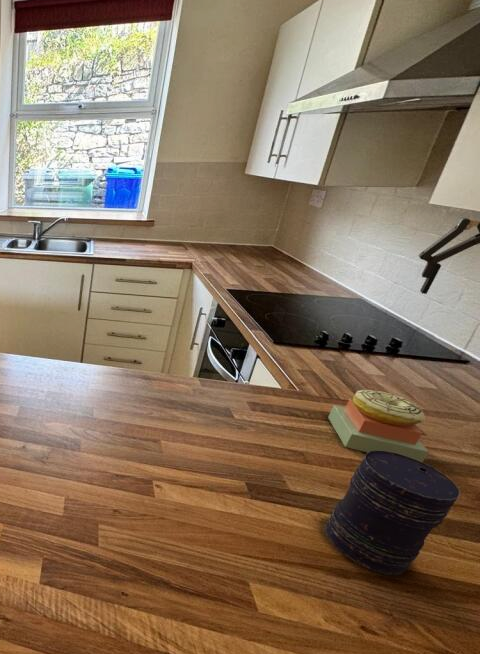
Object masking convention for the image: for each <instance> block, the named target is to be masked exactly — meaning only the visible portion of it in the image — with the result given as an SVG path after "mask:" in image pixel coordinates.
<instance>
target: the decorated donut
mask: <svg viewBox="0 0 480 654" xmlns="http://www.w3.org/2000/svg"><path fill="white" fill-rule="evenodd" d="M352 400H353V402H354V405H355V407H356V408H357V409H358V410H359V411H360V412H362V413H363V414H365V415H366V416H369V417H370V418H372V419H375V420H377V421H379V422H384V423H388V424H392V425H396V426H409V425H413V424H415V425H416V424H422V423H424V422H425V420H426V417H425V415H426V414H425V413H424V411H423V410H422V409H421V408H420V407H419V406H418V405H417V404H416V403H414V402H412V400H409V399H407V398H405V397H403V396H400V395H397V394H393V393H389V392H386V391H382V390H373V389H360V390H357V391H356V392H355V394H354V395H353V397H352Z"/></svg>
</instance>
